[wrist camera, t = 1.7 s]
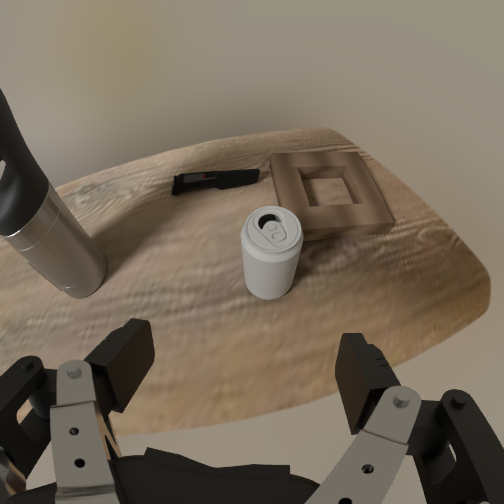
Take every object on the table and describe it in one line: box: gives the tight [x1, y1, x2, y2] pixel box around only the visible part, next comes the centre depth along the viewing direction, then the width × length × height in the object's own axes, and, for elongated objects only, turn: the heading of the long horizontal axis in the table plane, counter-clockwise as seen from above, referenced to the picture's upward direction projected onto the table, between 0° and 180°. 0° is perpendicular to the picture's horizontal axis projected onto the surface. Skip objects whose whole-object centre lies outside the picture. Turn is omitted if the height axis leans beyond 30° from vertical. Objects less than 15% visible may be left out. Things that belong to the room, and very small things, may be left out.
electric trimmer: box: [171, 169, 260, 196], centre depth 45 cm, size 4×16×3 cm, turn 95°
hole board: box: [270, 152, 394, 241], centre depth 43 cm, size 17×17×3 cm
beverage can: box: [241, 206, 303, 299], centre depth 32 cm, size 6×6×12 cm
